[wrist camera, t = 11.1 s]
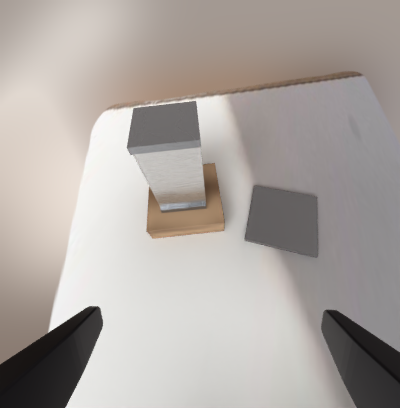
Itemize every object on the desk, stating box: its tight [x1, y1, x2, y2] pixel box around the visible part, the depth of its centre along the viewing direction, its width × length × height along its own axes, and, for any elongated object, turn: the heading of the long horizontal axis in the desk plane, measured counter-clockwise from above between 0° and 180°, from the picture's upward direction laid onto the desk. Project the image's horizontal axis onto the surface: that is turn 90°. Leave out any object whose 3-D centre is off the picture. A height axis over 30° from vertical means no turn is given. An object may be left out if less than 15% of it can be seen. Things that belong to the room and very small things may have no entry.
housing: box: [127, 101, 206, 213], centre depth 20 cm, size 5×5×10 cm
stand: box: [147, 163, 225, 238], centre depth 25 cm, size 9×9×2 cm
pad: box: [245, 186, 318, 257], centre depth 24 cm, size 8×8×1 cm
